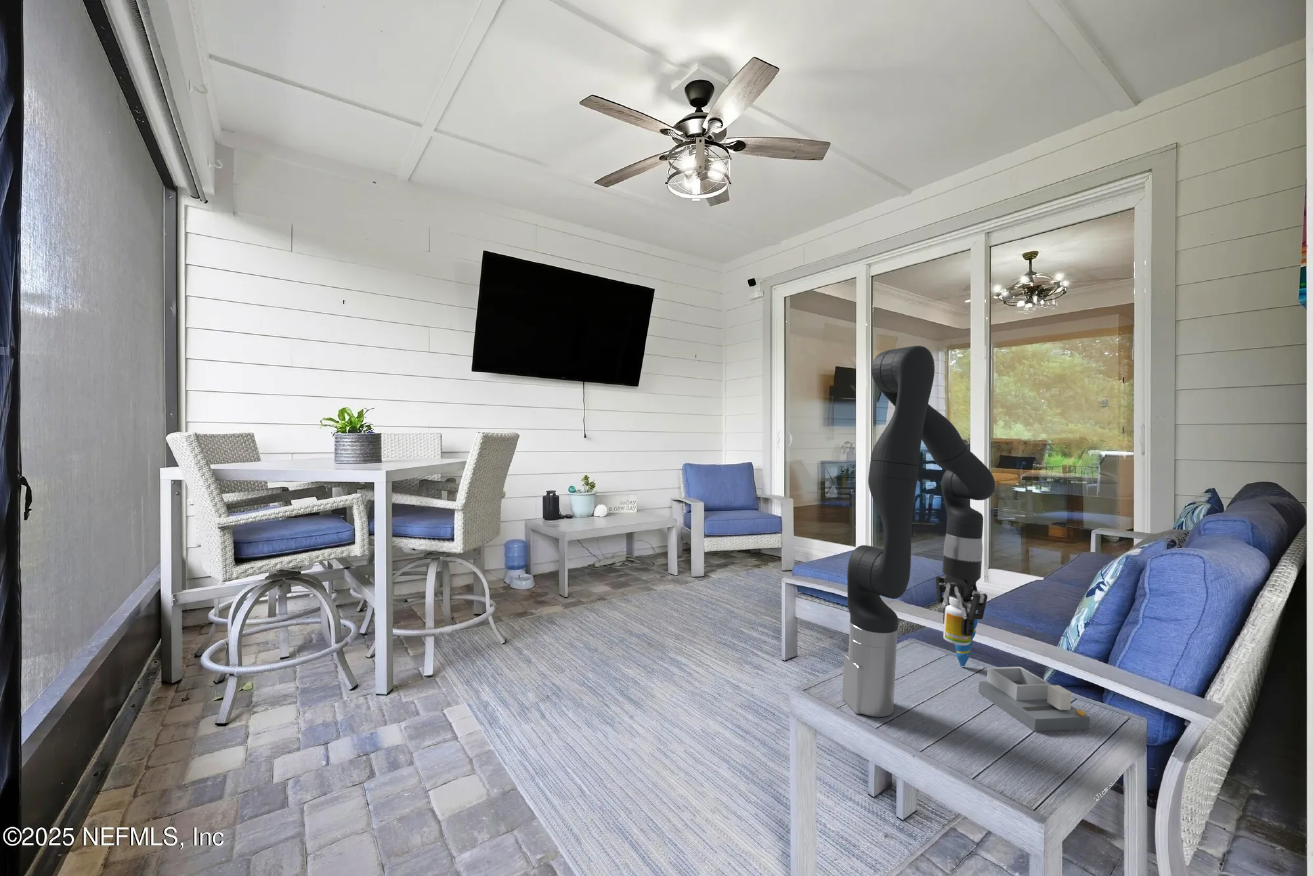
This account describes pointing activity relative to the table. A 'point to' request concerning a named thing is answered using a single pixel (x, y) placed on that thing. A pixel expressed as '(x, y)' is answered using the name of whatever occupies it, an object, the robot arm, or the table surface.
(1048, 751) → the table surface
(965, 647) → the ornament
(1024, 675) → the breaker panel
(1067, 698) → the breaker handle
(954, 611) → the supplement bottle
